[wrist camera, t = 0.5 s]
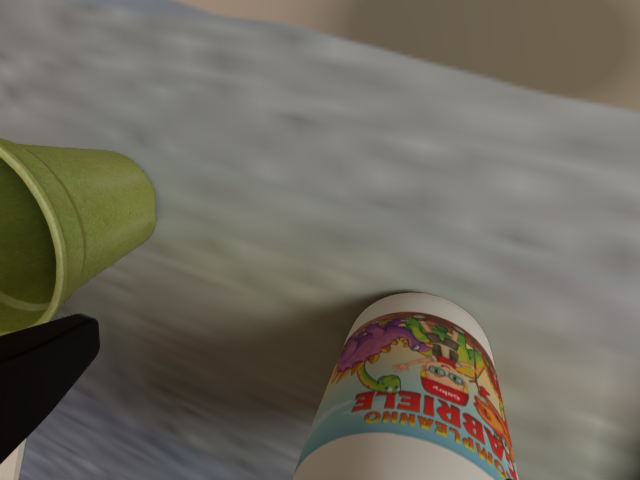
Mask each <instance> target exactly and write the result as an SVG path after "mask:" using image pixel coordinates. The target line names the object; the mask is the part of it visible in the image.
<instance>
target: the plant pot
mask: <svg viewBox="0 0 640 480" xmlns="http://www.w3.org/2000/svg"><path fill="white" fill-rule="evenodd" d="M156 221H157V217H156V213H155V192H154V189H153V187H152V185H151V182H150V181H149V179H148V177H147V176H146V174H145V173H144V172H143V170H142V169H141V168H140V167H139V166H138V165H137V164H136V163H134V162H133V161H132V160H131V159H129V158H128V157H126V156H124V155H122V154H119V153H115V152H111V151H104V150H90V149H74V148H60V147H47V146H35V145H23V144H15V143H13V142H10V141H8V140H5V139H1V138H0V336H1V335H5V334H8V333H12V332H15V331H19V330H22V329H26V328H29V327H33V326H36V325H40V324H43V323H47V322H50V321H51V320H52V319H53V317H54V316H55V314H56V313H57V312H58V310H59V308H60V306H61V305H62V304H63V303H64V302H65V301H66V300H67V299H68V298H69V297H70V296H71V295H72V293H73V292H74V290H76V289H77V288H79V287H80V286H81V285H83V284H84V283H86V282H87V281H89V280H90V279H91V278H93V277H94V276H96V275H97V274H99V273H100V272H102V271H103V270H105V269H106V268H107V267H109V266H110V265H112V264H113V263H115V262H116V261H118V260H119V259H121V258H122V257H124V256H125V255H127V254H128V253H130V252H131V251H133V250H134V249H135V248H137V247H138V246H140V245H142V244H143V243H144V242H145V241H146V240H148V238H149V237H150V236H151V234H152V232H153V230H154V228H155V225H156Z"/></svg>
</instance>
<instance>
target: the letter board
mask: <svg viewBox="0 0 640 480" xmlns="http://www.w3.org/2000/svg"><path fill="white" fill-rule="evenodd" d="M25 443H26V439H25V440H24V441H23V442H22V443H21V444H20V445H19V446H18V447H17V448H16V449H15V450H14V451H13V452H12V453H11V454H10V455H9V456H8V457H7V458H6V459H5V460H4V461H3V462H2V464H1V465H0V480H18V479H19V474H20V469H21V464H22V459H23V453H24V448H25Z"/></svg>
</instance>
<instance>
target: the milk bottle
mask: <svg viewBox="0 0 640 480" xmlns="http://www.w3.org/2000/svg"><path fill="white" fill-rule="evenodd" d="M507 478H511V479H513V480H519V479H518V474H517V469H516V464H515V459H514V454H513V449H512V444H511V439H510V435H509V430H508V425H507V421H506V416H505V411H504V407H503V402H502V397H501V393H500V388H499V384H498V379H497V375H496V370H495V366H494V361H493V357H492V353H491V350H490V346H489V343H488V340H487V338H486V336H485V334H484V332H483V330H482V329H481V327H480V326H479V325H478V323H477V322H476V321H475V320H474V319H473V318H472V317H471V316H470V315H469V314H468V313H467V312H466V311H464V310H463V309H462V308H460V307H459V306H457V305H455V304H454V303H452V302H450V301H448V300H446V299H443V298H440V297H438V296H434V295H430V294H425V293H401V294H395V295H392V296H388V297H385V298H383V299H380V300H378V301H376V302H375V303H373V304H372V305H370V306H369V307H368V308H366V309H365V310H364V311H363V312H362V313H361V314H360V315H359V317H358V318H357V319H356V321H355V322H354V324H353V326H352V328H351V330H350V332H349V334H348V336H347V339H346V341H345V344H344V346H343V348H342V351H341V353H340V356H339V358H338V361H337V363H336V366H335V368H334V371H333V373H332V376H331V378H330V381H329V383H328V386H327V388H326V391H325V393H324V396H323V398H322V401H321V403H320V406H319V408H318V411H317V414H316V416H315V419H314V421H313V424H312V427H311V429H310V432H309V434H308V437H307V439H306V442H305V445H304V447H303V450H302V452H301V455H300V458H299V461H298V464H297V467H296V470H295V473H294V476H293V478H292V480H505V479H507Z"/></svg>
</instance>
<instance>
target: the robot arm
mask: <svg viewBox="0 0 640 480" xmlns="http://www.w3.org/2000/svg"><path fill="white" fill-rule="evenodd" d="M99 348H100V339H99V324H98V321H97V320H96V319H95V318H92V317H90V316H87V315H85V314H74V315H71V316H67V317H64V318H61V319H57V320H54V321H50V322H47V323H43V324H40V325H36V326H33V327H29V328H26V329H22V330H19V331H15V332H12V333H8V334H5V335H1V336H0V465H1V464H2V462H3V461H4V460H5V459H6V458H7V457H8V456H9V455H10V454H11V453H12V452H13V451H14V450H15V449H16V448H17V447H18V446H19V445H20V444H21V443H22V442H23V441H24V440H25V439H26V438H27V437H28V436H29V435H30V434H31V433H32V432H33V431H34V430H35V429H36V427H37V426H38V425H39V424H40V423H41V422H42V421H43V420H44V419H45V418H46V417H47V416H48V415H49V414H50V412H51V411H52V410H53V409H54V408H55V407H56V405H57V404H58V403H59V402H60V401H61V399H62V398H63V397H64V396H65V394H66V393H67V392H68V391H69V389H70V388H71V387H72V386H73V384H74V383H75V382H76V381H77V380H78V378H79V377H80V376H81V375H82V373H83V372H84V371H85V370H86V368H87V367H88V366H89V365H90V363H91V362H92V361H93V360H94V359H95V357H96V356H97V354H98V352H99ZM505 480H513V479H511V478H507V479H505Z"/></svg>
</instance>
